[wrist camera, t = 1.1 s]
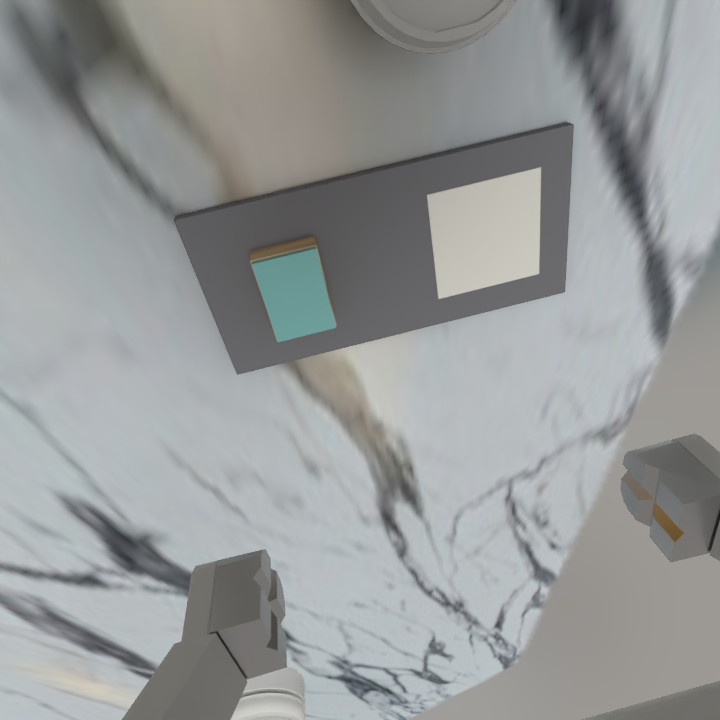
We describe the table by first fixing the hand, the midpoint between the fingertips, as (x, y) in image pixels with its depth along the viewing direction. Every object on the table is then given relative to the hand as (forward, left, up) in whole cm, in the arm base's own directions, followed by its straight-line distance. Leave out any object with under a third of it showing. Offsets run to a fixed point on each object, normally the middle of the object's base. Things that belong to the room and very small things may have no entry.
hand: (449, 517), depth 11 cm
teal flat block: (+7, -4, -30) cm, 31 cm away
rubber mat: (+7, +4, -31) cm, 32 cm away
